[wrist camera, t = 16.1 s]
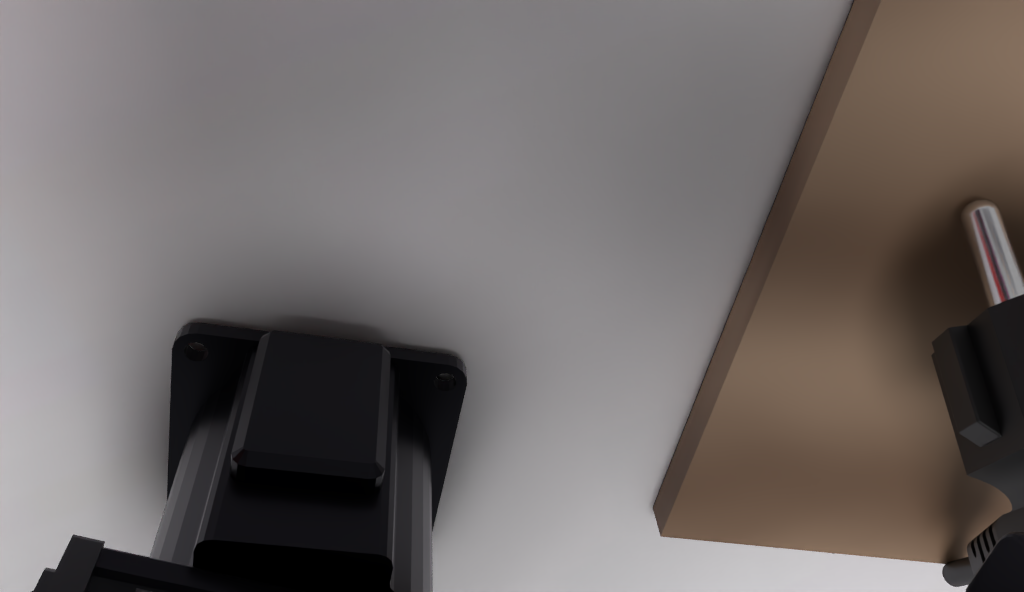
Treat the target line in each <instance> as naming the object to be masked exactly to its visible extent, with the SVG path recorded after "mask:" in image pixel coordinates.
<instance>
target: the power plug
mask: <svg viewBox="0 0 1024 592" xmlns="http://www.w3.org/2000/svg"><path fill="white" fill-rule="evenodd" d="M960 217H961V224H962V227H963V230H964V233H965V236H966V239H967V242H968V246H969V249H970V252H971V255H972V258H973V261H974V264H975V267H976V270H977V273H978V276H979V279H980V282H981V285H982V288H983V291H984V294H985V297H986V300H987V303H988V306H989V308H987V309H986V310H985V311H983V312H982V313H981V314H980V315H979V316H977V317H976V318H975V319H974V320H973V321H971V322H970V323H969V324H968V325H965V326H957V327H950V328H947V329H946V330H945V331H944V332H943V333H942V334H941V335H939V336H938V337H937V338H936V339H935V340H934V341H932V346H933V349H934V353H933V354H932V355H931V356H932V360H933V363H934V366H935V370H936V373H937V376H938V380H939V383H940V386H941V390H942V393H943V397H944V400H945V403H946V407H947V410H948V413H949V417H950V420H951V423H952V427H953V430H954V433H955V437H956V440H957V444H958V447H959V450H960V454H961V457H962V460H963V464H964V467H965V470H966V474H967V475H968V476H970V477H973V478H976V479H978V480H981V481H983V482H986V483H988V484H990V485H992V486H994V487H996V488H997V489H999V490H1000V491H1001V492H1002V493H1004V494H1005V495H1006V496H1007V498H1008V499H1009V500H1010V502H1011V504H1012V510H1011V511H1010V512H1009V513H1006V514H1003V515H1002V516H1000V517H999V518H998V519H997V520H996V521H995V522H994V523H992V524H991V525H990V526H988V528H986V529H985V530H984V531H983V532H982V533H980V534H979V535H978V536H977V537H976V538H974V539H973V540H972V541H971V542H969V544H968V545H967V553H968V557H965V558H962V559H958V560H954V561H951V562H948V563H947V564H946V565H945V566H944V567H943V571H942V573H943V577H944V579H945V580H946V581H947V582H948V583H949V584H950V585H952V586H955V587H959V586H964V585H969V583H970V582H971V581H972V579H973V578H974V576H975V575H976V573H977V572H978V570H979V569H980V567H981V566H982V564H983V563H984V561H985V560H986V558H987V557H988V555H989V554H990V552H991V551H992V549H993V548H994V546H995V545H996V543H997V542H998V541H999V540H1000V538H1001V537H1003V536H1004V535H1006V534H1008V533H1010V532H1024V276H1023V273H1022V271H1021V268H1020V265H1019V262H1018V259H1017V256H1016V253H1015V250H1014V247H1013V245H1012V242H1011V239H1010V236H1009V233H1008V230H1007V227H1006V224H1005V222H1004V219H1003V216H1002V213H1001V210H1000V208H999V207H998V205H997V204H995V203H994V202H992V201H990V200H984V199H980V200H975V201H973V202H970V203H969V204H968V205H967V206H965V207H964V208H963V210H962V213H961V215H960Z"/></svg>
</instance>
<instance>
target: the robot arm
mask: <svg viewBox="0 0 1024 592" xmlns="http://www.w3.org/2000/svg"><path fill="white" fill-rule="evenodd" d="M195 342H197V343H200V344H203V345H204V346H205V347H206V348H207V350H204V351H198V350H195V349H193V348H192V347H191V346H190V345H189V343H195ZM446 373H448V374H450V375H453V376H454V377H453V378H452V379H450V380H445V381H442V380H440V379H437V376H438V375H440V374H446ZM466 386H467V375H466V367H465V365H464V363H463V361H461V360H460V359H459V358H457V357H455V356H452V355H449V354H441V353H433V352H425V351H417V350H409V349H401V348H394V347H386V346H382V345H381V344H376V343H368V342H360V341H352V340H344V339H336V338H329V337H321V336H313V335H305V334H297V333H289V332H282V331H271V332H268V331H260V330H252V329H244V328H236V327H228V326H221V325H213V324H205V323H191V324H188V325H186V326H183V327H182V328H181V329H180V330H179V331H178V334H177V336H176V339H175V342H174V345H173V348H172V370H171V400H170V430H169V459H168V489H167V504H166V507H165V510H164V513H163V516H162V519H161V523H160V526H159V529H158V532H157V535H156V539H155V542H154V545H153V548H152V551H151V554H150V557H146V556H141V555H136V554H132V553H127V552H123V551H118V550H114V549H109V548H104V543H105V541H100V540H95V539H91V538H86V537H82V536H77V535H73V536H72V538H71V540H70V542H69V544H68V546H67V548H66V550H65V552H64V554H63V557H62V559H61V561H60V563H59V565H58V567H57V569H56V570H55V569H50V568H45V570H44V571H43V573H42V575H41V577H40V579H39V581H38V583H37V585H36V587H35V589H34V591H32V592H433V586H432V530H433V526H434V522H435V517H436V513H437V509H438V505H439V500H440V496H441V492H442V488H443V484H444V479H445V475H446V471H447V467H448V462H449V458H450V454H451V450H452V445H453V441H454V437H455V433H456V428H457V424H458V420H459V416H460V412H461V407H462V403H463V399H464V395H465V390H466ZM966 592H1024V532H1010V533H1008V534H1006V535H1004V536H1003V537H1001V538H1000V540H999V541H998V542H997V543H996V545H995V546H994V548H993V549H992V551H991V552H990V554H989V555H988V557H987V558H986V560H985V561H984V563H983V564H982V566H981V567H980V569H979V570H978V572H977V573H976V575H975V576H974V578H973V579H972V581H971V582H970V583H969V585H968V587H967V589H966Z"/></svg>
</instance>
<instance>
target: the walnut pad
mask: <svg viewBox="0 0 1024 592" xmlns="http://www.w3.org/2000/svg"><path fill="white" fill-rule="evenodd" d="M980 199H984V200H990V201H992V202H994V203H995V204H997V205H998V207H999V208H1000V210H1001V213H1002V216H1003V219H1004V222H1005V224H1006V227H1007V230H1008V233H1009V236H1010V239H1011V242H1012V245H1013V247H1014V250H1015V253H1016V256H1017V259H1018V262H1019V265H1020V268H1021V271H1022V273H1023V276H1024V0H854V3H853V5H852V8H851V10H850V13H849V15H848V18H847V20H846V23H845V25H844V28H843V30H842V33H841V35H840V38H839V40H838V43H837V45H836V48H835V50H834V53H833V56H832V58H831V61H830V63H829V66H828V68H827V71H826V73H825V76H824V78H823V81H822V83H821V86H820V88H819V91H818V93H817V96H816V98H815V101H814V103H813V106H812V108H811V111H810V113H809V116H808V119H807V121H806V124H805V126H804V129H803V131H802V134H801V136H800V139H799V141H798V144H797V146H796V149H795V151H794V154H793V156H792V159H791V161H790V164H789V166H788V169H787V171H786V174H785V176H784V179H783V181H782V184H781V187H780V189H779V192H778V194H777V197H776V199H775V202H774V204H773V207H772V209H771V212H770V214H769V217H768V219H767V222H766V224H765V227H764V229H763V232H762V234H761V237H760V239H759V242H758V244H757V247H756V249H755V252H754V255H753V257H752V260H751V262H750V265H749V267H748V270H747V272H746V275H745V277H744V280H743V282H742V285H741V287H740V290H739V292H738V295H737V297H736V300H735V302H734V305H733V307H732V310H731V312H730V315H729V318H728V320H727V323H726V325H725V328H724V330H723V333H722V335H721V338H720V340H719V343H718V345H717V348H716V350H715V353H714V355H713V358H712V360H711V363H710V365H709V368H708V370H707V373H706V375H705V378H704V380H703V383H702V386H701V388H700V391H699V393H698V396H697V398H696V401H695V403H694V406H693V408H692V411H691V413H690V416H689V418H688V421H687V423H686V426H685V428H684V431H683V433H682V436H681V438H680V441H679V443H678V446H677V449H676V451H675V454H674V456H673V459H672V461H671V464H670V466H669V469H668V471H667V474H666V476H665V479H664V481H663V484H662V486H661V489H660V491H659V494H658V496H657V499H656V501H655V504H654V506H653V510H654V514H655V518H656V521H657V525H658V528H659V532H660V536H663V537H673V538H683V539H694V540H704V541H714V542H725V543H735V544H745V545H756V546H766V547H776V548H787V549H797V550H807V551H818V552H828V553H838V554H849V555H859V556H869V557H880V558H890V559H900V560H911V561H921V562H931V563H942V564H947V563H948V562H951V561H954V560H958V559H962V558H965V557H968V553H967V545H968V544H969V542H971V541H972V540H973V539H974V538H976V537H977V536H978V535H979V534H980V533H982V532H983V531H984V530H985V529H986V528H988V526H990V525H991V524H992V523H994V522H995V521H996V520H997V519H998V518H999V517H1000V516H1002V515H1003V514H1006V513H1009V512H1010V511H1011V510H1012V504H1011V502H1010V500H1009V499H1008V498H1007V496H1006V495H1005V494H1004V493H1002V492H1001V491H1000V490H999V489H997V488H996V487H994V486H992V485H990V484H988V483H986V482H983V481H981V480H978V479H976V478H973V477H970V476H968V475H967V474H966V470H965V467H964V464H963V460H962V457H961V454H960V450H959V447H958V444H957V440H956V437H955V433H954V430H953V427H952V423H951V420H950V417H949V413H948V410H947V407H946V403H945V400H944V397H943V393H942V390H941V386H940V383H939V380H938V376H937V373H936V370H935V366H934V363H933V360H932V356H931V355H932V354H933V353H934V349H933V346H932V341H934V340H935V339H936V338H937V337H938V336H939V335H941V334H942V333H943V332H944V331H945V330H946V329H947V328H950V327H957V326H965V325H968V324H969V323H970V322H971V321H973V320H974V319H975V318H976V317H977V316H979V315H980V314H981V313H982V312H983V311H985V310H986V309H987V308H989V306H988V303H987V300H986V297H985V294H984V291H983V288H982V285H981V282H980V279H979V276H978V273H977V270H976V267H975V264H974V261H973V258H972V255H971V252H970V249H969V246H968V242H967V239H966V236H965V233H964V230H963V227H962V224H961V217H960V215H961V213H962V210H963V208H964V207H965V206H967V205H968V204H969V203H970V202H973V201H975V200H980Z"/></svg>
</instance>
